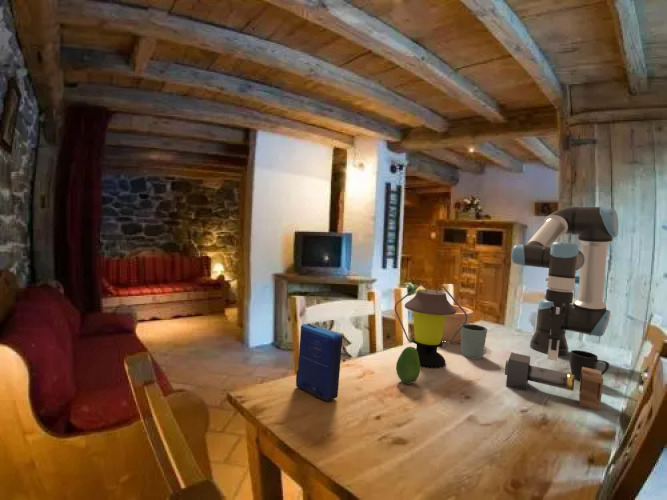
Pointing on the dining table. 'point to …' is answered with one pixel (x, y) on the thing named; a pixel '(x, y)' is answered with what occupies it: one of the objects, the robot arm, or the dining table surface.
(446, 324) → the pottery
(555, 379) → the tube
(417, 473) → the dining table surface
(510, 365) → the sleeve
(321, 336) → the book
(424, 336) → the lantern
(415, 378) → the fruit
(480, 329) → the grey green textured cup
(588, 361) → the mug
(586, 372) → the socket
